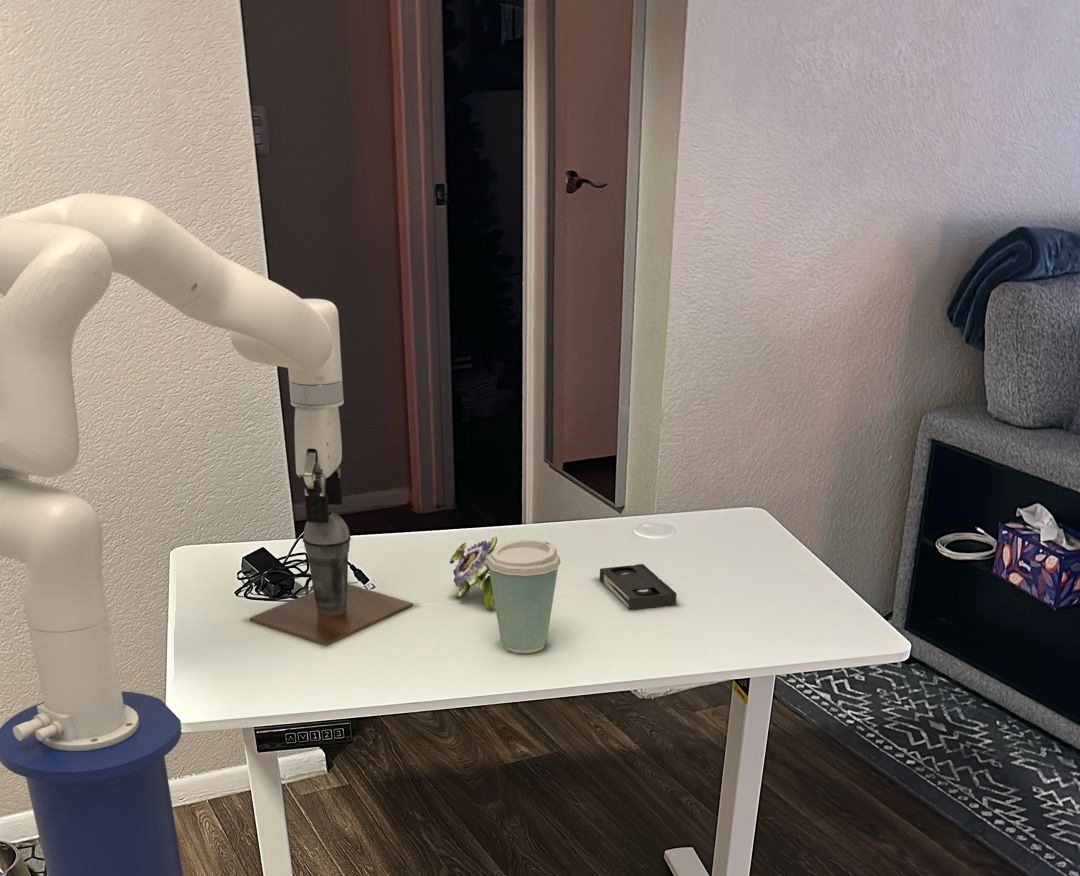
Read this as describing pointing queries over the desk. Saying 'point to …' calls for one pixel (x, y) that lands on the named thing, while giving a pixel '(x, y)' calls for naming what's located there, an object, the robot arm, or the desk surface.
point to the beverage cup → (328, 563)
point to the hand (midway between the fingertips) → (325, 512)
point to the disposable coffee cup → (523, 592)
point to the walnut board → (327, 629)
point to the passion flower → (474, 569)
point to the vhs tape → (637, 587)
